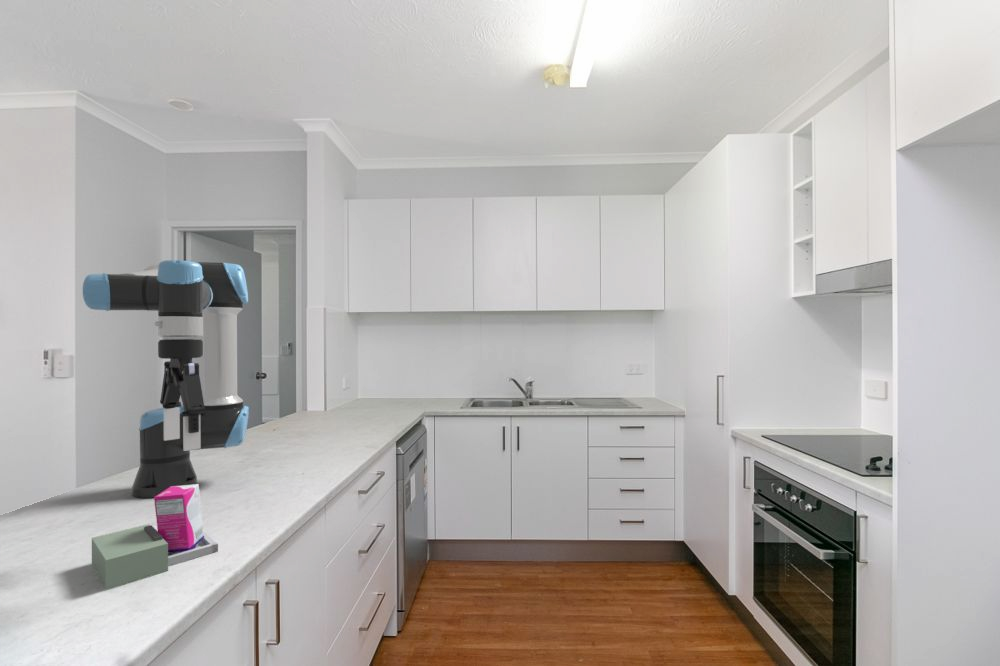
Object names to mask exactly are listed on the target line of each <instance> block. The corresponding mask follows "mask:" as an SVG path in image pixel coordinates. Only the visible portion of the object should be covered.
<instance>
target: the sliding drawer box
mask: <svg viewBox="0 0 1000 666" xmlns="http://www.w3.org/2000/svg"><path fill="white" fill-rule="evenodd" d="M216 552H219V544H218V542H216V540H214V539H213V538H211V537H210V535H208V534H207V533H205V532H204V538H203V539H202V540H201V541H200V542H199V543H198V544H197V545H196V546H194V547H193V548H192V549H191V550H188V551H181V552H169V553H168V543H167V542H166V541H165V540H164V539H163V538H162V535H161V534H160V533H159V532H158V529H156V528H155V527H154V526H153V525H151V524H150V523H147V524H144V525H140V526H135V527H131V528H125V529H123V530H119V531H115V532H111V533H106V534H102V535H98V536H95V537H91V565H92V567H93V569H94V571H95V573H96V574H97V576H98V578H99V580H100V581H101V583H102V585H103V587H104V589H105V590H110V589H113V588H116V587H119V586H122V585H125V584H130V583H133V582H135V581H136V582H137V581H139V580H142V579H145V578H149V577H151V576H155V575H158V574H163V573H164V572H165V573H166V572H168V571H169V567H170V566H174V565H177V564H180V563H183V562H188V561H190V560H194V559H197V558H201V557H203V556H206V555H210V554H214V553H216Z"/></svg>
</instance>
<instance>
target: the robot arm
mask: <svg viewBox="0 0 1000 666" xmlns="http://www.w3.org/2000/svg"><path fill="white" fill-rule="evenodd" d="M82 298H83V302H84V303H85V305H86V306H87V308H89V309H90V310H94V311H96V310H98V311H106V312H108V311H147V312H149V311H151V312H152V311H157V315H158V321H155V322H154V326H155V327H158V335H157V336H159V337H161V339H159V340H158V342H157V348H158V349H157V351H158V352H157V355H158V358H159V359H167V360H168V359H169V360H168V361H164V363H163V365H164V370H163V371H164V372H163V380H162V386H161V393H160V400H159V403H160V404H161V405H162V407H158V408H155V409H151V410H148V411H145V412H144V413H142V414H141V415H140V420H139V429H138V431H139V466H138V470H137V474H136V475H135V479H134V481H133V484H132V487H131V494H132V496H133V497H135V498H145V499H147V498H149V499H150V498H151V499H152V498H154V497H155V496H157V495H159V494H160V493H162V492H163V491H165V490H166V489H168V488H169V487H171V486H183V485H193V484H198V475H197V474H196V471H195V469H194V467H193V464H192V461H191V453H190V452H191V451H198V450H199V451H200V450H209V449H211V450H213V449H221V448H223V449H227V448H233V447H238V446H241V445H242V443H244V440H245V437H246V434H247V427H248V421H249V414H250V413H249V412H250V411H249V410H250V407H249V406H247V405H244V399H242V397H240V396H239V395H238V319H237V318H238V315H239V313H240V312H241V311H243V306H244V305H243V304H248V302H249V293H248V285H247V280H246V275H245V271H244V268H243V267H242V266H241V265H240V264H236V263H229V262H228V263H227V262H208V261H206V262H203V261H192V260H191V261H189V260H180V259H179V260H178V259H172V260H171V259H168V260H162V261H160V262H159V263H158V264H154V265H151V266H148V267H146V268H145V269H143V270H140V271H133V272H126V273H119V274H118V273H117V274H115V273H113V274H112V273H105V272H104V273H90V274H88V275H87V276H86V277H84V281H83V283H82ZM200 337H203V338H202V339H203V340H202V339H200ZM201 357H203V390H202V384H201V383H202V382H201V378H200V364H199V363H198V362H197V363H196V362H193V359H197V358H201ZM180 398H181V401H182V402H181V401H180Z"/></svg>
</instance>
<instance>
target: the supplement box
mask: <svg viewBox="0 0 1000 666" xmlns="http://www.w3.org/2000/svg"><path fill="white" fill-rule="evenodd" d="M199 485H200V484H199V483H197V484H193V485H183V486H171V487H169V488H168V489H166V490H165V491H163V492H162V493H160V494H159V495H157V496H155V497H153V499H154V509H155V518H156V519H155V520H156V526H157V529H156V530H157V531H158V532H159V533H160V534H161V535H162V538H163V539H164V540H165V541H166V542H167V543H168V553H169V552H181V551H188V550H191V549H192V548H193V547H194V546H196V545H197V544H198V543H199V542H200V541H201V540H202V539H203V538H204V533H205V532H204V524H203V522H204V521H203V514H202V513H203V512H202V504H201V502H202V501H201V492H200V486H199Z"/></svg>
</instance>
